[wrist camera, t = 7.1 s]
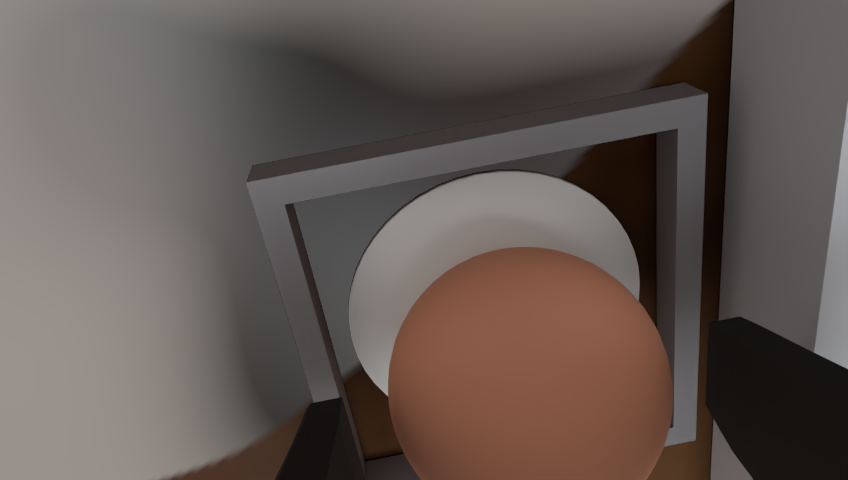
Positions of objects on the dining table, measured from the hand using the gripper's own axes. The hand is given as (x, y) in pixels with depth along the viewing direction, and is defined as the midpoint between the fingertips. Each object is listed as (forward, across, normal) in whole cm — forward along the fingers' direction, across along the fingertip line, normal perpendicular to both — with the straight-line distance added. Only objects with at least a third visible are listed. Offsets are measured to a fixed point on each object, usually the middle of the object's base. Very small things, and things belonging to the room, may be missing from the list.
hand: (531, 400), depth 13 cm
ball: (0, 0, 0) cm, 0 cm away
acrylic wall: (+3, -6, 0) cm, 7 cm away
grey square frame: (+3, 0, 0) cm, 3 cm away
